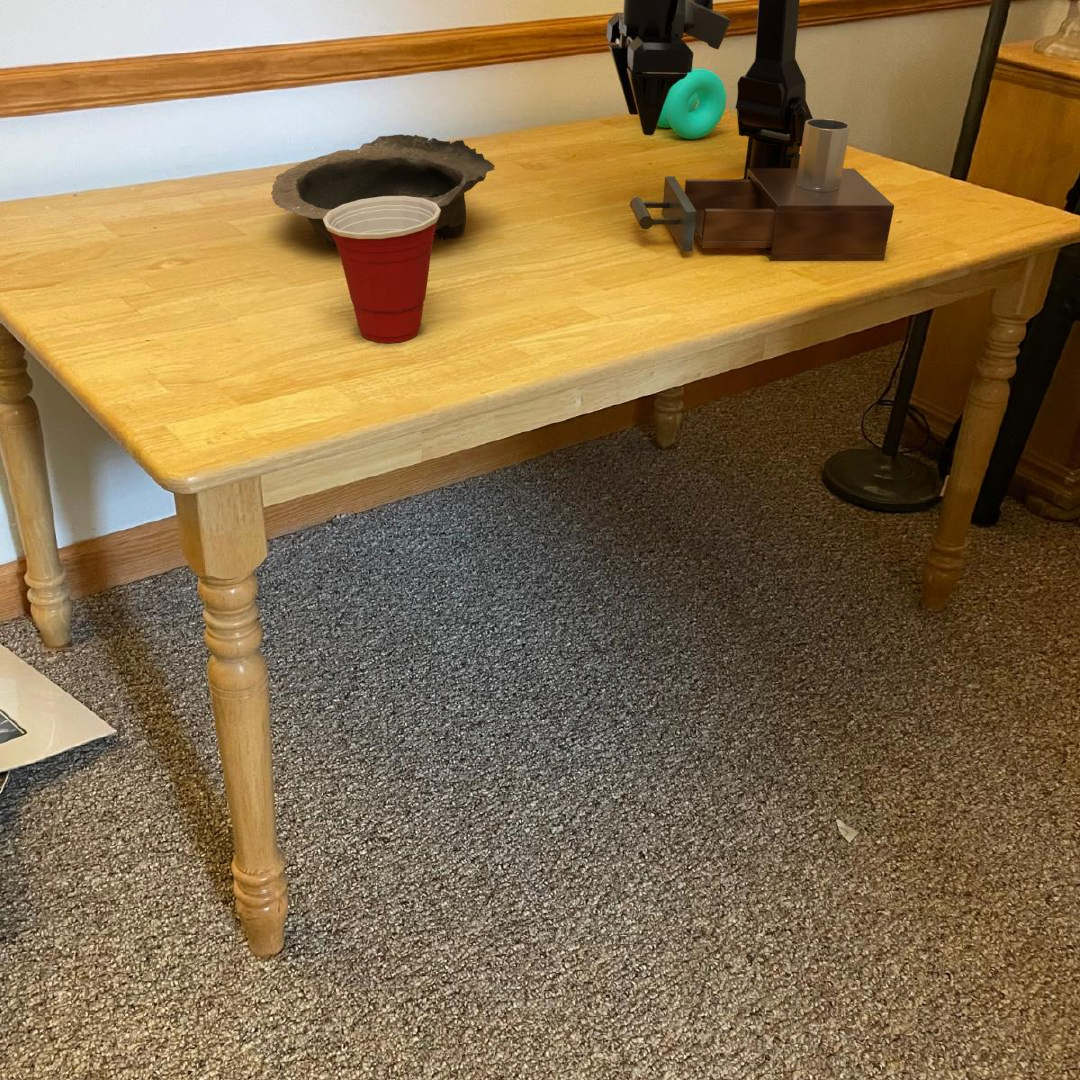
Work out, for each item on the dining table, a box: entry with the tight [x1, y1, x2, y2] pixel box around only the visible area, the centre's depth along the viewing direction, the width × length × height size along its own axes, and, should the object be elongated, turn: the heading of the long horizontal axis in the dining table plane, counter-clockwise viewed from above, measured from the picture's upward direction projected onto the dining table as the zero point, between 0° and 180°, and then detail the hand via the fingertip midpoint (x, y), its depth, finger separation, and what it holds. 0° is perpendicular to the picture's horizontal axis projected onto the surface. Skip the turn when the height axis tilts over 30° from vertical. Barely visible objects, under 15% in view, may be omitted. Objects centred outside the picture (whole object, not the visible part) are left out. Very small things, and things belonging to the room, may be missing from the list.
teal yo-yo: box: [656, 66, 727, 140], centre depth 178 cm, size 10×10×10 cm
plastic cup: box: [323, 196, 441, 344], centre depth 112 cm, size 11×11×12 cm
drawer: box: [629, 175, 776, 253], centre depth 138 cm, size 17×13×5 cm
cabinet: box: [746, 168, 895, 262], centre depth 139 cm, size 13×14×6 cm
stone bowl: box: [270, 134, 496, 246], centre depth 136 cm, size 25×25×9 cm
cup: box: [796, 117, 851, 192], centre depth 136 cm, size 5×5×7 cm
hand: (641, 124), depth 132 cm, fingers open, 9 cm apart
